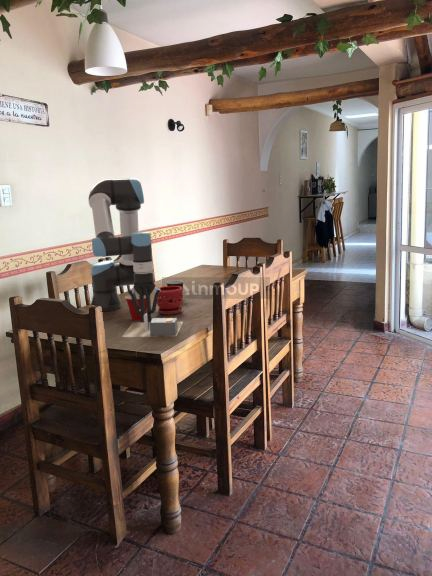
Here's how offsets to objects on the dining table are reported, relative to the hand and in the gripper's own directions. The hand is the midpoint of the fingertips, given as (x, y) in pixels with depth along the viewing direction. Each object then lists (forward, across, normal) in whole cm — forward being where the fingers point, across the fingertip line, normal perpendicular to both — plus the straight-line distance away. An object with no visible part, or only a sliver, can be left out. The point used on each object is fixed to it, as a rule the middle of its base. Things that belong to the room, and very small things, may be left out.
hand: (147, 329), depth 192 cm
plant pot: (+3, +3, +37) cm, 38 cm away
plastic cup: (+3, -9, +23) cm, 25 cm away
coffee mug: (+3, +3, +61) cm, 61 cm away
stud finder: (+2, +7, 0) cm, 7 cm away
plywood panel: (+3, +1, +6) cm, 7 cm away
